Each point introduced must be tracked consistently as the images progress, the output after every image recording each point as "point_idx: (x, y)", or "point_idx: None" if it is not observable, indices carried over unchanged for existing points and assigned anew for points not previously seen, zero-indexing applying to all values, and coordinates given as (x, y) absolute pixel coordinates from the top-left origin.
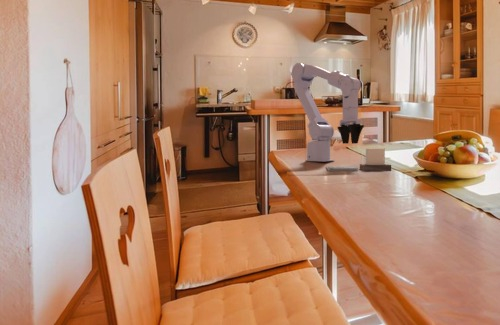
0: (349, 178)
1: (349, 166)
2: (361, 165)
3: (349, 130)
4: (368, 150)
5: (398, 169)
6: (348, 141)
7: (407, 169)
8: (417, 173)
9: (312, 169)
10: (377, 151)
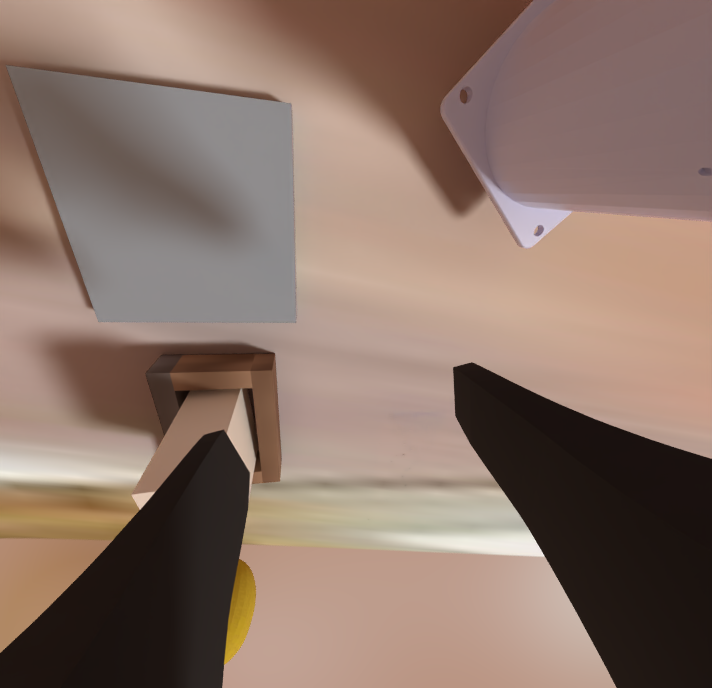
0: None
1: (286, 304)
2: (219, 368)
3: (594, 627)
4: (140, 481)
5: (264, 494)
6: (468, 436)
7: (265, 517)
8: (36, 521)
9: None
10: None
